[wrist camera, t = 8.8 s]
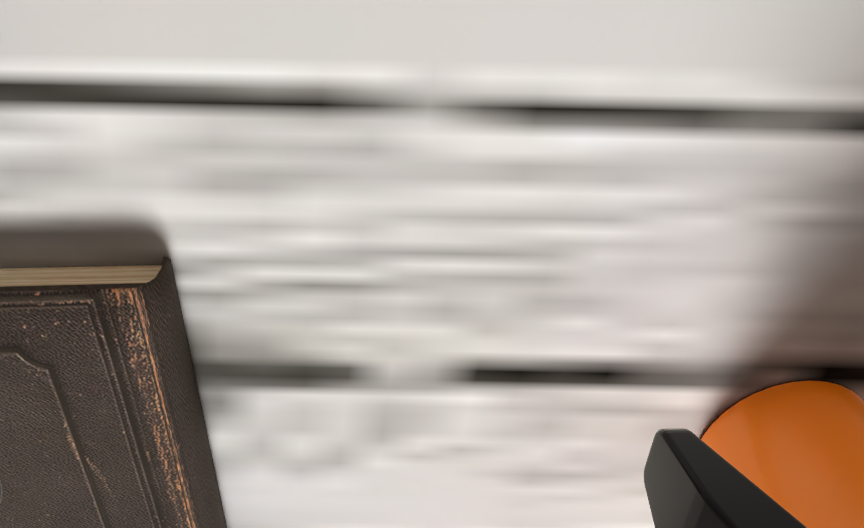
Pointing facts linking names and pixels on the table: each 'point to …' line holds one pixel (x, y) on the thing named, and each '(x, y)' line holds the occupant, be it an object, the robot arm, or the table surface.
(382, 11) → the table surface
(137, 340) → the hardcover book
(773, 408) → the shaker bottle
